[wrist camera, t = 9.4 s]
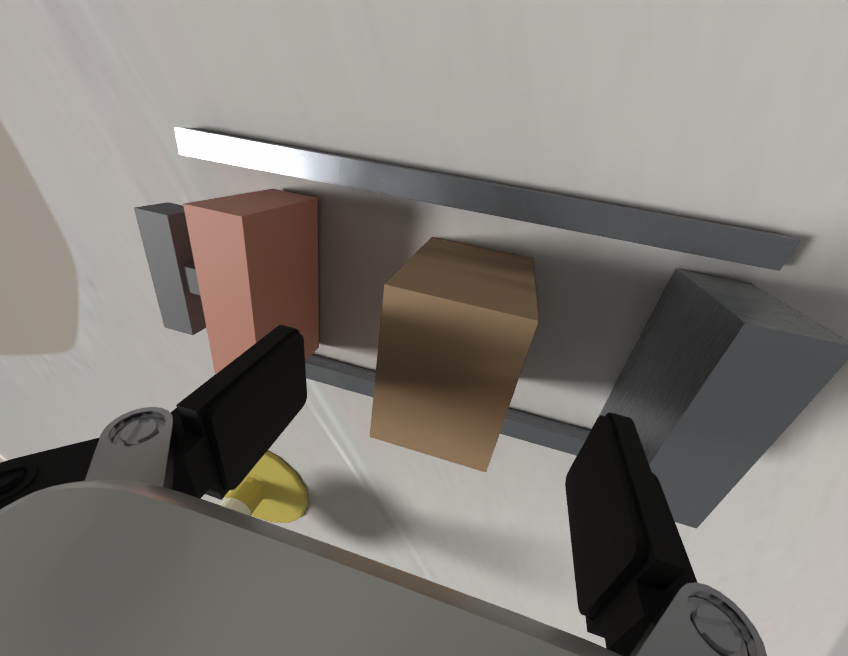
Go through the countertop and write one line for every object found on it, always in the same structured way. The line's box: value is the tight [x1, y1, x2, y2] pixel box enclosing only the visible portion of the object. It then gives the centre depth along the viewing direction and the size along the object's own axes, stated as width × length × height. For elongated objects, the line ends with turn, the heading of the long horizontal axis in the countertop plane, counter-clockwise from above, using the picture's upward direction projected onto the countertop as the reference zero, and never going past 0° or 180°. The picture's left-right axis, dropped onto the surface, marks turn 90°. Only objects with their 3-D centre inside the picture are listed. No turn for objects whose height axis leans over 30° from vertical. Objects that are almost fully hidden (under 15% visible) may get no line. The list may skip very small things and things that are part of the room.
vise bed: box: [174, 127, 848, 528], centre depth 17 cm, size 13×27×6 cm, turn 82°
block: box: [370, 237, 539, 472], centre depth 16 cm, size 7×5×7 cm
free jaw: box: [134, 189, 319, 375], centre depth 18 cm, size 9×7×6 cm
